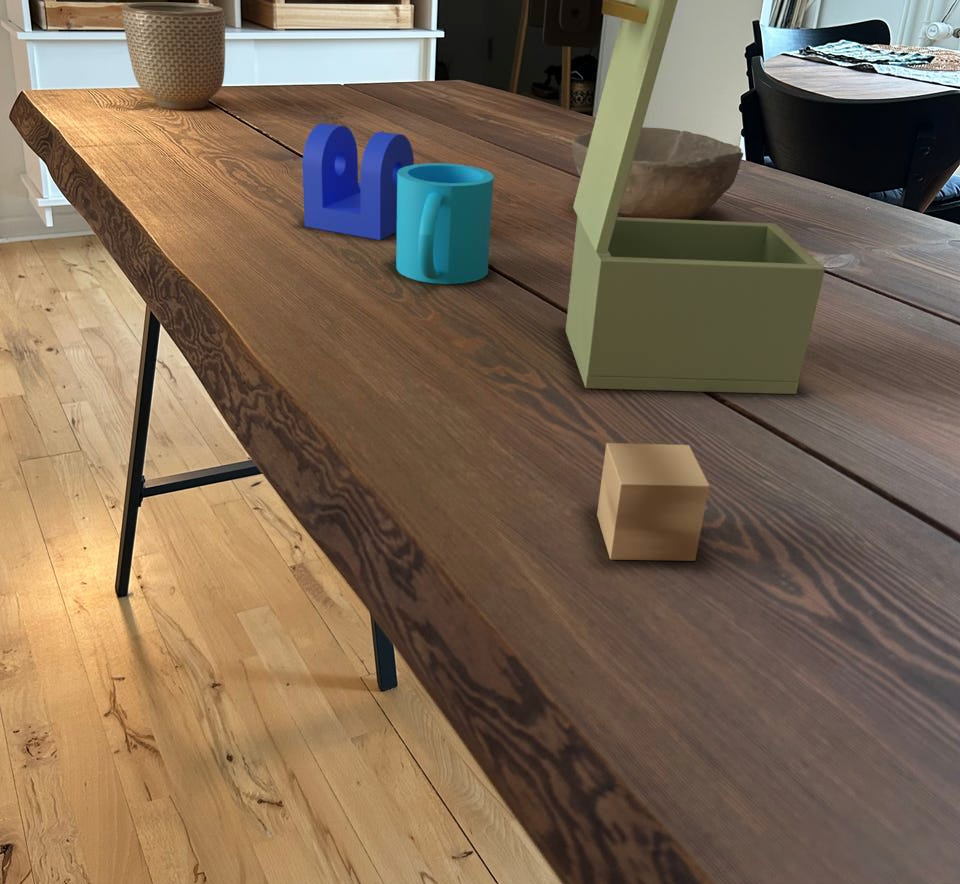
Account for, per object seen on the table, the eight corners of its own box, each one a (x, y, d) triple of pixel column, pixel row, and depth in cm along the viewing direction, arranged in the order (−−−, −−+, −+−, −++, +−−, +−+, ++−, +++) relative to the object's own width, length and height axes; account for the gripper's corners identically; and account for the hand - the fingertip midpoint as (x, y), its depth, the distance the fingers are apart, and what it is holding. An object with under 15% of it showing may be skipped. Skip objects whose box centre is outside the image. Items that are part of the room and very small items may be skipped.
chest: (752, 337, 80) (775, 223, 76) (796, 394, 71) (825, 268, 67) (565, 331, 79) (577, 215, 75) (585, 388, 70) (600, 259, 65)
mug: (407, 251, 95) (409, 159, 91) (495, 260, 94) (500, 168, 90) (374, 292, 85) (374, 191, 80) (472, 302, 84) (477, 201, 80)
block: (676, 516, 56) (689, 444, 54) (695, 561, 52) (710, 485, 50) (596, 515, 56) (606, 442, 53) (609, 560, 52) (620, 483, 50)
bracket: (380, 240, 98) (380, 140, 93) (304, 226, 100) (301, 129, 95) (458, 200, 112) (461, 112, 107) (390, 189, 114) (391, 103, 110)
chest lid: (646, -30, 67) (566, -50, 66) (683, -19, 57) (590, -42, 57) (583, 210, 75) (511, 195, 74) (607, 254, 65) (524, 237, 64)
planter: (200, 94, 159) (193, 1, 152) (249, 109, 150) (243, 11, 144) (115, 101, 151) (103, 2, 144) (161, 117, 142) (151, 13, 135)
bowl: (599, 187, 121) (607, 115, 117) (747, 212, 115) (761, 136, 110) (539, 220, 107) (546, 139, 103) (704, 250, 101) (718, 165, 96)
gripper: (697, -345, 48) (646, 58, 56) (630, -288, 62) (598, 24, 71) (536, -358, 47) (510, 51, 56) (507, -297, 62) (490, 19, 71)
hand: (559, 36), depth 63 cm, fingers open, 9 cm apart
